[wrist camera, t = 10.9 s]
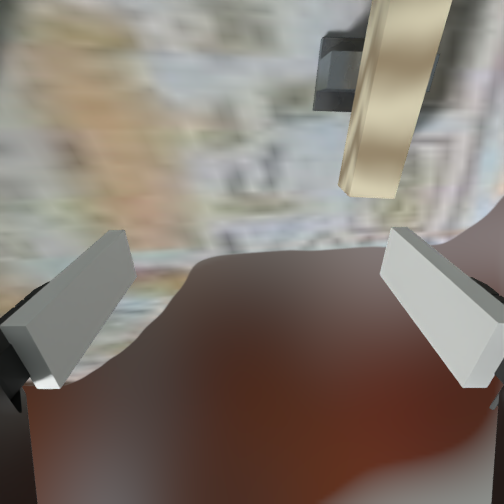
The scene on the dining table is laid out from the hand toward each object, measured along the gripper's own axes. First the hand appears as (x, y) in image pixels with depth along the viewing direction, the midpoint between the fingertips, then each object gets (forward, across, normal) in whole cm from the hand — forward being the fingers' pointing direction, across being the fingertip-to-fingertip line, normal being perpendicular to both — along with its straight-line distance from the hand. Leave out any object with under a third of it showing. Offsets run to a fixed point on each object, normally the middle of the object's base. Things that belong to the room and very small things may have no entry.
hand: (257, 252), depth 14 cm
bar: (+19, +12, +9) cm, 24 cm away
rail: (+26, +12, +9) cm, 30 cm away
